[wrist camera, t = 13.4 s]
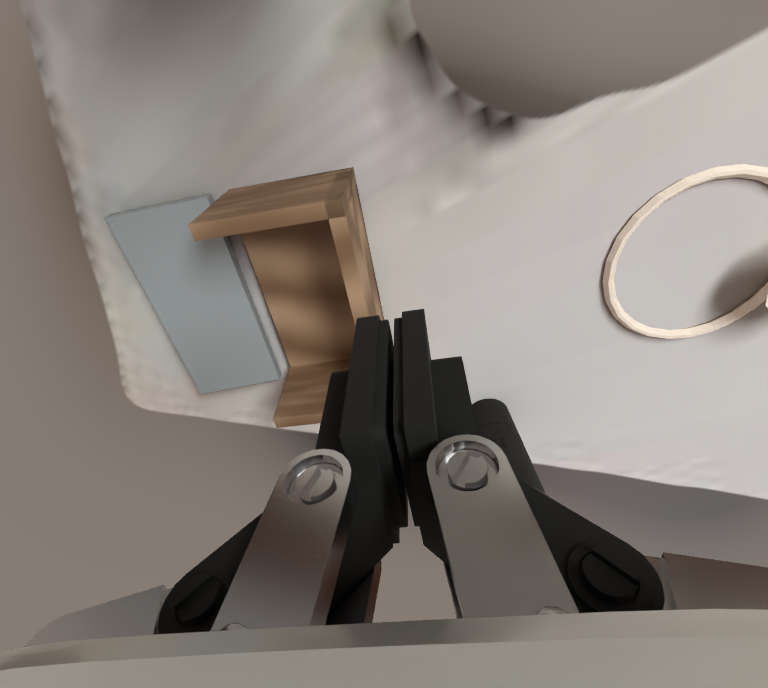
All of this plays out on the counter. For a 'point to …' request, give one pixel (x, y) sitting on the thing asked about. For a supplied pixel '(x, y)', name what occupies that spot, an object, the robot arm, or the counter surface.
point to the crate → (304, 274)
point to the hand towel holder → (608, 279)
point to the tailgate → (197, 294)
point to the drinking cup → (505, 439)
